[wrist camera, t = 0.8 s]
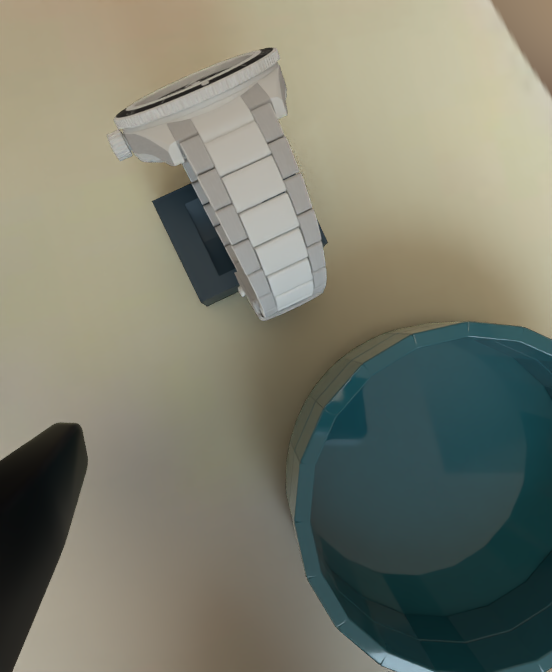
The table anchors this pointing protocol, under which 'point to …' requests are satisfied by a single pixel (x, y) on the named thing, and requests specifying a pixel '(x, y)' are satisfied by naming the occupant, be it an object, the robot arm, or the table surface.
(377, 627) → the bowl
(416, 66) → the table surface
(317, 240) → the watch
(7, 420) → the table surface
